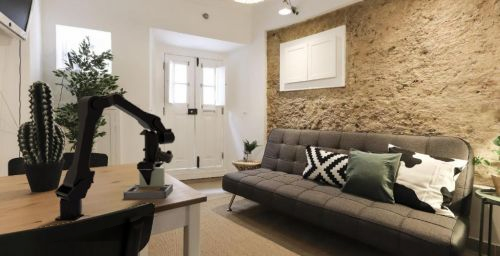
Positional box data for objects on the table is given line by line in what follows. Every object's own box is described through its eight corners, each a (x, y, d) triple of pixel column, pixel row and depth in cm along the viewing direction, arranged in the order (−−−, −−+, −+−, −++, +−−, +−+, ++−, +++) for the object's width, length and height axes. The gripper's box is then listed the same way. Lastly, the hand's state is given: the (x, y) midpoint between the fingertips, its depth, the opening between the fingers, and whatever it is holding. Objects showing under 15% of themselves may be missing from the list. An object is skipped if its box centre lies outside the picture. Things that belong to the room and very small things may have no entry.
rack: (165, 199, 103) (165, 191, 103) (123, 200, 102) (123, 192, 102) (172, 190, 115) (172, 184, 115) (135, 191, 114) (135, 184, 114)
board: (163, 191, 112) (163, 168, 111) (139, 191, 111) (139, 168, 111) (164, 190, 114) (164, 167, 113) (140, 190, 113) (140, 167, 112)
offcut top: (156, 193, 105) (156, 190, 105) (133, 194, 104) (133, 191, 104) (159, 190, 110) (159, 187, 110) (137, 190, 109) (137, 187, 109)
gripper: (165, 148, 103) (165, 188, 103) (176, 143, 121) (176, 177, 122) (136, 148, 102) (136, 188, 103) (151, 143, 121) (151, 177, 121)
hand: (152, 182), depth 112 cm, fingers open, 9 cm apart
